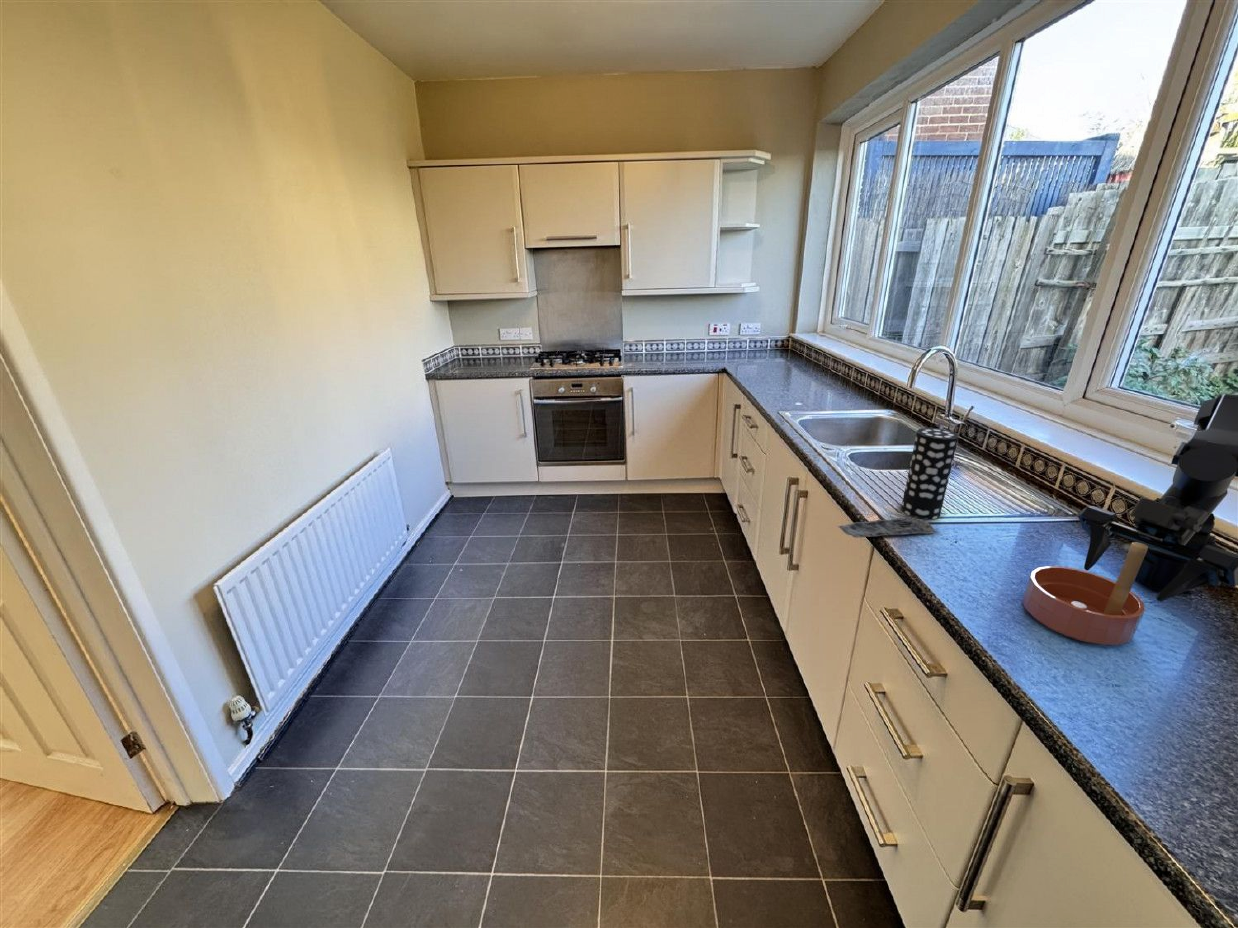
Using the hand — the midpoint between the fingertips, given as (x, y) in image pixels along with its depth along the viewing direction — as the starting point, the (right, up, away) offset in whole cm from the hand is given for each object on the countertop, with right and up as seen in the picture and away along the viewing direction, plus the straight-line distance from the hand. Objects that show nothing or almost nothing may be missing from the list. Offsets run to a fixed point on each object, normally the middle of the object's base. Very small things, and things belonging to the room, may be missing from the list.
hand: (1120, 583), depth 80 cm
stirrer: (-2, -6, +5) cm, 8 cm away
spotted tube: (-6, +7, +43) cm, 44 cm away
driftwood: (-19, +4, +35) cm, 40 cm away
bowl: (-2, -7, +6) cm, 10 cm away
